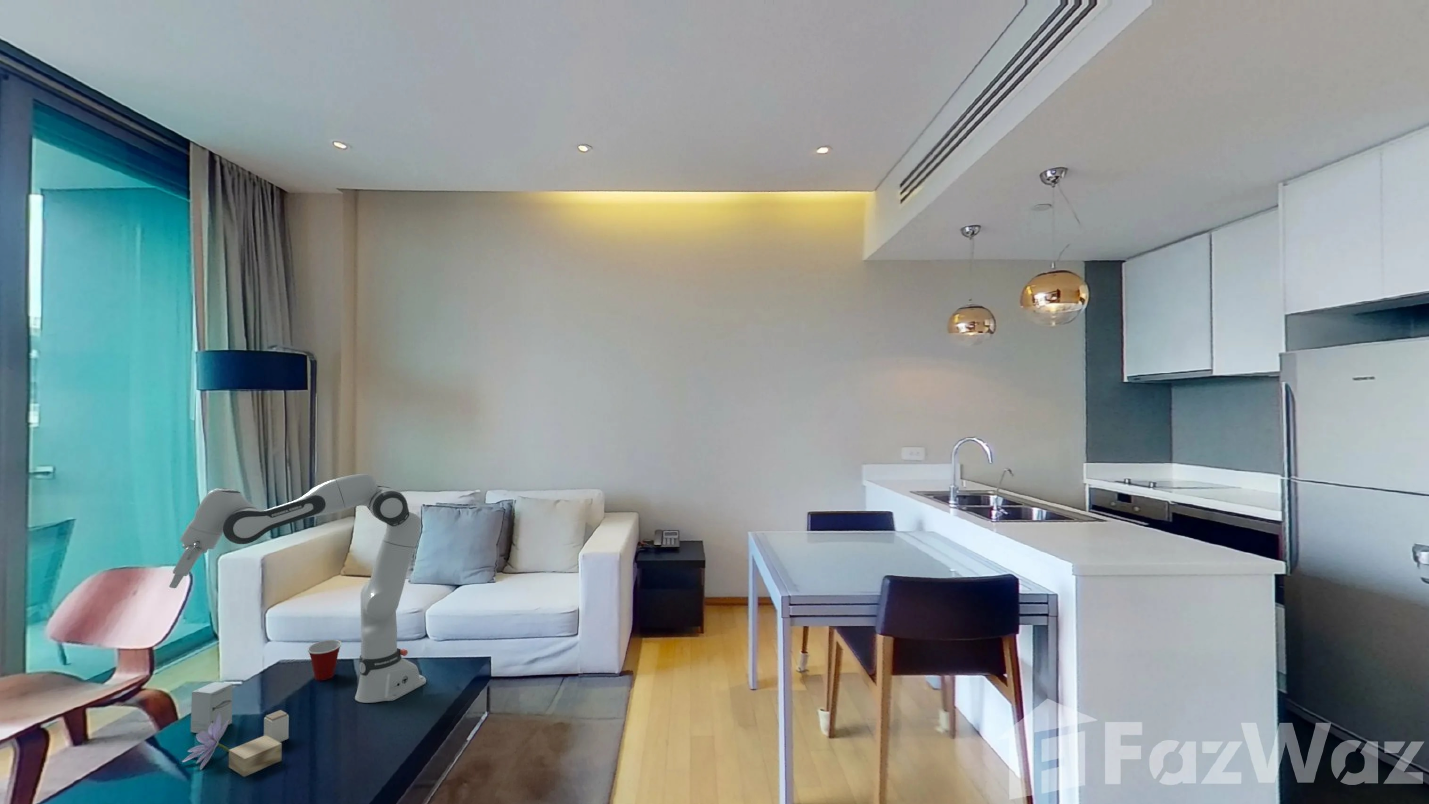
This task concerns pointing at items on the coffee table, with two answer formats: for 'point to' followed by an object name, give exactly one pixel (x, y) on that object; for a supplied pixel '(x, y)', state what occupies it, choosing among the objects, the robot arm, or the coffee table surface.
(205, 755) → the water lily
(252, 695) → the coffee table surface
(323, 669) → the plastic cup
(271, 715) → the pale two-tone block
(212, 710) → the supplement box
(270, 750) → the oak block
